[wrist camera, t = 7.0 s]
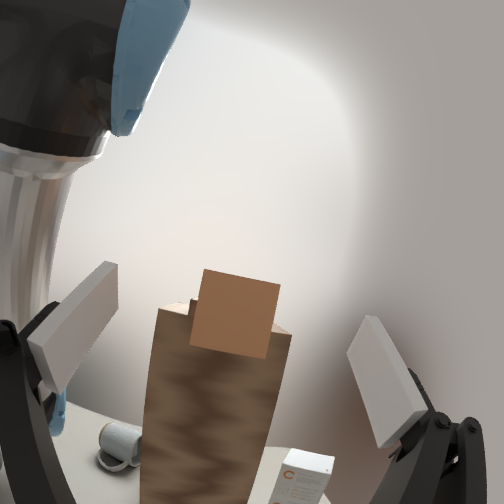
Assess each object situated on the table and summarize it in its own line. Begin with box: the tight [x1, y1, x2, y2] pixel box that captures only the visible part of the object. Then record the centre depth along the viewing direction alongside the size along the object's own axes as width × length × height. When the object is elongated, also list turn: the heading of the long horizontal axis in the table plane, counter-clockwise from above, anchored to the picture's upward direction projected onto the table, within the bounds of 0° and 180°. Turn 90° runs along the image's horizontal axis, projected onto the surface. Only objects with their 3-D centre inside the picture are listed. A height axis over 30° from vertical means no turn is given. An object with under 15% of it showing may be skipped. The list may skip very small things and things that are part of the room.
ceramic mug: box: [98, 423, 142, 472], centre depth 38 cm, size 11×8×8 cm
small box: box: [268, 448, 334, 504], centre depth 33 cm, size 8×6×13 cm
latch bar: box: [189, 269, 280, 359], centre depth 22 cm, size 3×24×3 cm, turn 6°
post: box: [140, 297, 292, 504], centre depth 22 cm, size 10×10×37 cm
